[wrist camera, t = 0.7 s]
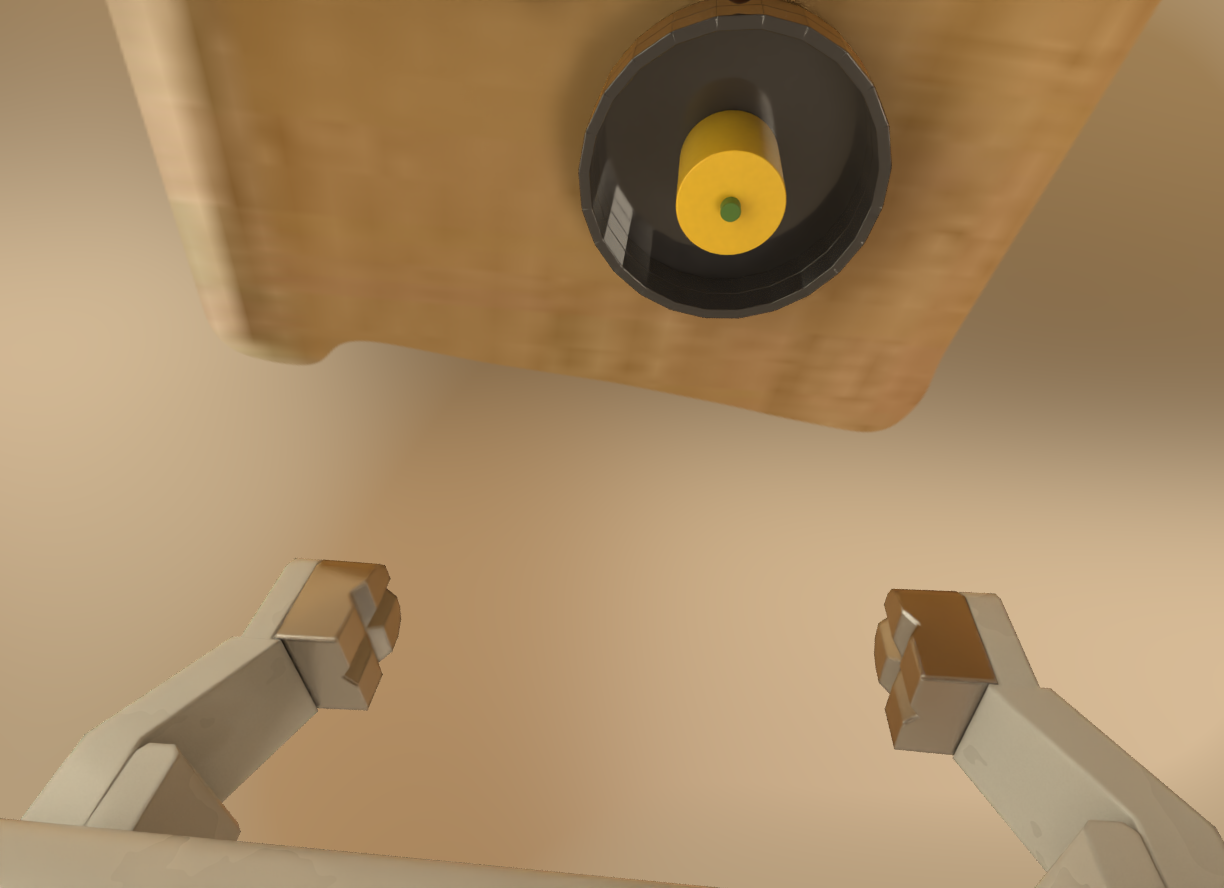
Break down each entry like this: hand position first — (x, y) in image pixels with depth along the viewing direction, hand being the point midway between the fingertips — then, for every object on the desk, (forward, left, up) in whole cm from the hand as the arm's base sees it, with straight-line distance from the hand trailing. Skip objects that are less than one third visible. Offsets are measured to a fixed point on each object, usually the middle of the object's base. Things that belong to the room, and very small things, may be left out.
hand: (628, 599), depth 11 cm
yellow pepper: (+6, +2, -33) cm, 33 cm away
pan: (+6, +2, -33) cm, 33 cm away
